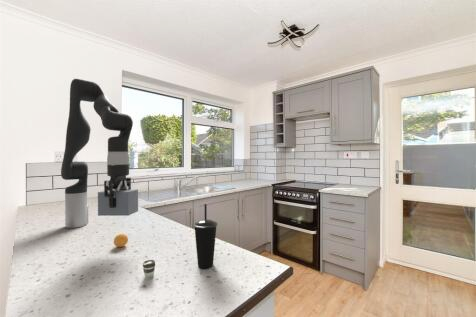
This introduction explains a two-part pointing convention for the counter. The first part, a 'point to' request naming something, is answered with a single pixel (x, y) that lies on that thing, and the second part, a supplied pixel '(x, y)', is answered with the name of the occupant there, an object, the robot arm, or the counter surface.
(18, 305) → the counter surface
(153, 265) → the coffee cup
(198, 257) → the drinking cup
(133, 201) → the matte grey box
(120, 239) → the ball
